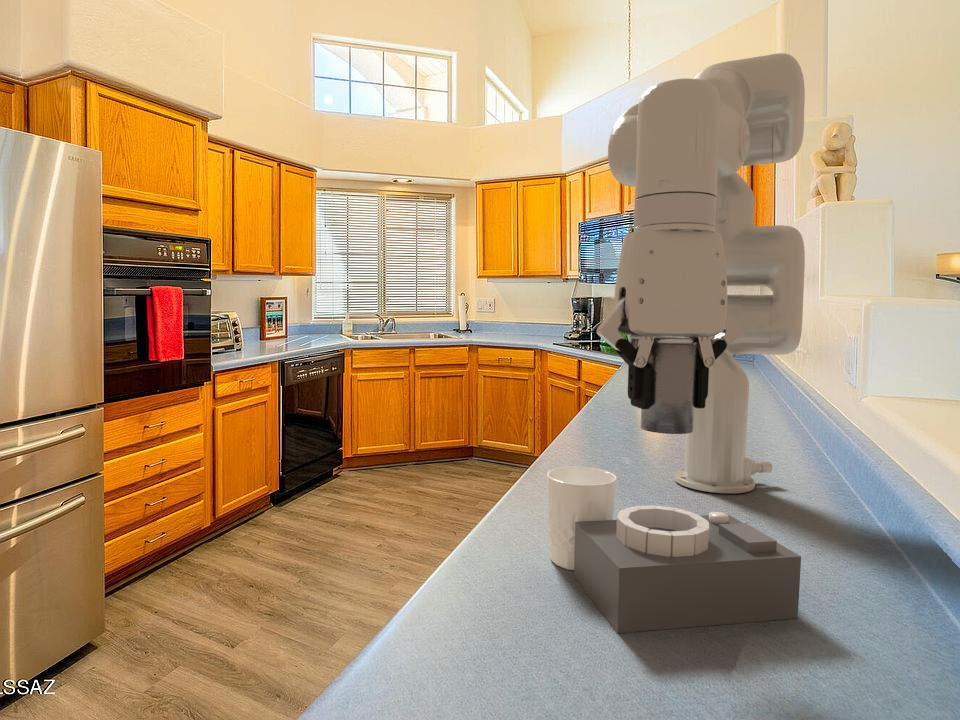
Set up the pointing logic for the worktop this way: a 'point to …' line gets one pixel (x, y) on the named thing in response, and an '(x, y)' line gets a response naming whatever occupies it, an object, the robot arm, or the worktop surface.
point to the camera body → (683, 570)
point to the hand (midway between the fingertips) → (667, 404)
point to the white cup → (576, 506)
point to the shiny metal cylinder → (671, 386)
